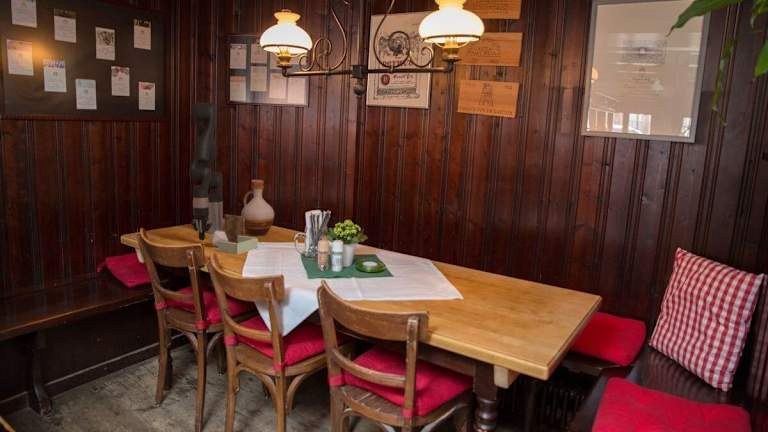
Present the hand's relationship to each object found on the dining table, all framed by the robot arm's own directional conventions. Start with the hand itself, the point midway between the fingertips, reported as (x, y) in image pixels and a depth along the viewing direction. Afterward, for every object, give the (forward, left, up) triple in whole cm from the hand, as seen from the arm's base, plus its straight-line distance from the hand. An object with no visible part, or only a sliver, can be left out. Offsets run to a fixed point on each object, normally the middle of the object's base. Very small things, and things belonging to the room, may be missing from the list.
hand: (201, 239), depth 291 cm
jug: (+9, +33, -2) cm, 34 cm away
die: (+11, 0, -2) cm, 11 cm away
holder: (+23, 0, -2) cm, 23 cm away
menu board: (+12, +11, -2) cm, 16 cm away
